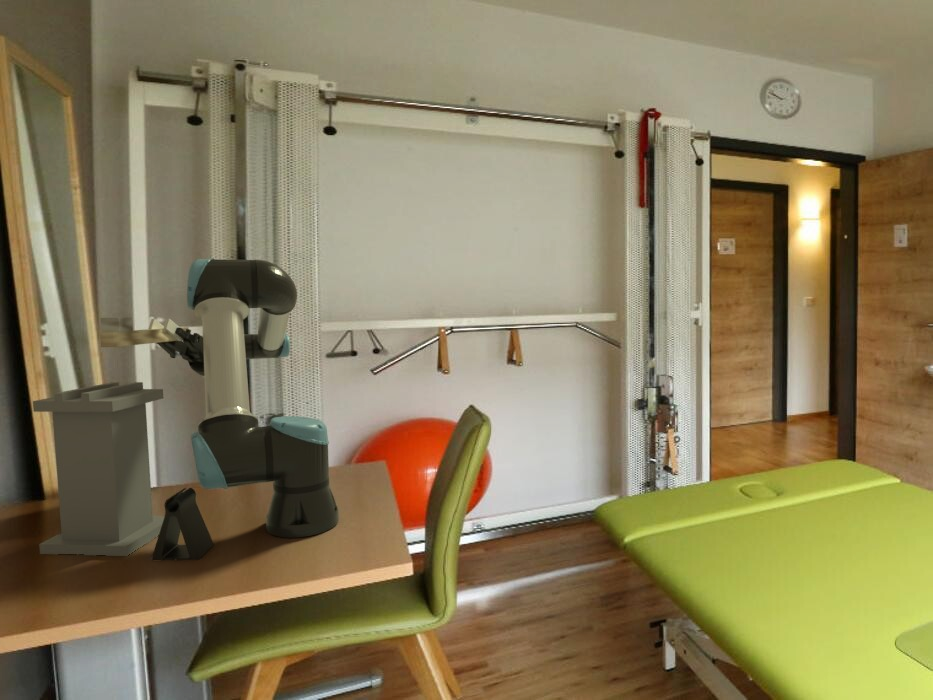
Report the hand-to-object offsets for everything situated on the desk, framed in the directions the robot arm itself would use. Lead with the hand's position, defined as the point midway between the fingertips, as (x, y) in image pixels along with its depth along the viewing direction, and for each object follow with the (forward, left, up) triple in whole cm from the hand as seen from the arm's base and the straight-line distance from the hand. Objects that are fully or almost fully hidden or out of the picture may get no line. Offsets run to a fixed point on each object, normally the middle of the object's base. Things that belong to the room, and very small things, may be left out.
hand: (159, 323), depth 129 cm
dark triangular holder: (-29, +12, -44) cm, 54 cm away
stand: (-10, +17, -44) cm, 48 cm away
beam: (-2, +3, -4) cm, 6 cm away
